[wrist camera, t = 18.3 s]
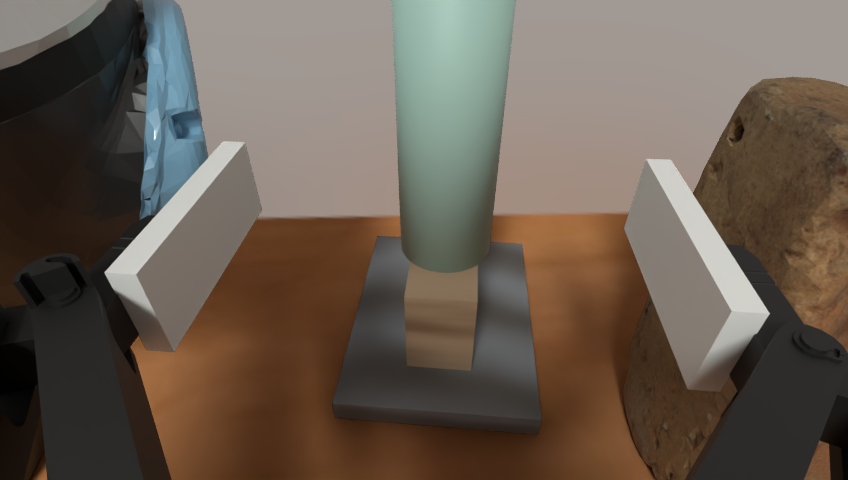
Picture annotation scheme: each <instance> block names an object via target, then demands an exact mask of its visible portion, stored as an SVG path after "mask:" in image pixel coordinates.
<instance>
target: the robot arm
mask: <svg viewBox="0 0 848 480" xmlns="http://www.w3.org/2000/svg"><path fill="white" fill-rule="evenodd" d="M261 210H262V208H261V204H260V200H259V196H258V192H257V188H256V184H255V180H254V176H253V172H252V168H251V164H250V160H249V156H248V152H247V148H246V144H245V142H225V141H223V142H222V143H221V144H220V145H219V146H218V148H217V149H216V150H215V151H214V152H213V153H212V154H211V156H210V157H209V158H208V152H207V147H206V141H205V136H204V131H203V128H202V117H201V112H200V106H199V101H198V91H197V85H196V79H195V73H194V67H193V62H192V56H191V51H190V46H189V40H188V35H187V30H186V25H185V21H184V16H183V13H182V10H181V8H180V6H179V5H178V4H177V3H176V2H175V1H174V0H0V480H29V479H30V477H31V475H32V473H33V472H34V470H35V468H36V466H37V463H38V461H39V459H40V457H41V454H42V452H43V449H45V459H46V470H47V480H171V477H170V473H169V470H168V466H167V463H166V460H165V456H164V453H163V450H162V446H161V443H160V439H159V436H158V433H157V429H156V426H155V422H154V419H153V416H152V412H151V409H150V405H149V402H148V399H147V395H146V392H145V388H144V385H143V382H142V378H141V375H140V371H139V368H138V365H137V361H136V358H135V355H134V353H133V351H132V350H131V348H130V346H131V345H132V344H133V342H134V341H135V339H136V338H137V337H138V335H139V337H140V339H141V341H142V343H143V345H144V346H145V348H146V350H152V351H166V352H175V350H176V348H177V347H178V345H179V344H180V342H181V340H182V339H183V337H184V335H185V334H186V332H187V331H188V329H189V327H190V326H191V324H192V323H193V321H194V319H195V318H196V316H197V314H198V313H199V311H200V310H201V308H202V306H203V305H204V303H205V301H206V300H207V298H208V297H209V295H210V293H211V292H212V290H213V289H214V287H215V285H216V284H217V282H218V280H219V279H220V277H221V276H222V274H223V272H224V271H225V269H226V267H227V266H228V264H229V263H230V261H231V259H232V258H233V256H234V255H235V253H236V251H237V250H238V248H239V246H240V245H241V243H242V242H243V240H244V238H245V237H246V235H247V233H248V232H249V230H250V229H251V227H252V225H253V224H254V222H255V221H256V219H257V217H258V216H259V214H260V212H261ZM624 230H625V232H626V235H627V237H628V240H629V242H630V245H631V247H632V250H633V252H634V255H635V257H636V260H637V263H638V265H639V268H640V270H641V273H642V275H643V278H644V280H645V283H646V285H647V288H648V290H649V293H650V295H651V298H652V300H653V303H654V305H655V308H656V310H657V313H658V316H659V318H660V321H661V323H662V326H663V328H664V331H665V333H666V336H667V338H668V341H669V343H670V346H671V348H672V351H673V353H674V356H675V358H676V361H677V364H678V366H679V369H680V371H681V374H682V376H683V379H684V381H685V384H686V386H687V389H688V390H702V391H716V392H720V391H721V390H722V388H723V387H724V385H725V383H726V382H727V380H728V379H729V377H731V379H732V381H733V383H734V385H735V387H736V390H737V392H736V393H735V395H734V396H733V398H732V399H731V401H730V402H729V404H728V405H727V407H726V408H725V410H724V411H723V413H722V414H721V416H720V417H721V418H720V420H719V422H718V423H717V425H716V427H715V429H714V430H713V432H712V434H711V435H710V437H709V439H708V441H707V442H706V444H705V446H704V447H703V449H702V451H701V453H700V454H699V456H698V458H697V459H696V461H695V463H694V465H693V466H692V468H691V470H690V471H689V473H688V475H687V477H686V478H685V480H804V478H805V476H806V473H807V471H808V468H809V466H810V463H811V461H812V458H813V455H814V453H815V450H816V448H817V445H818V443H819V441H822V442H825V443H828V444H829V456H830V478H831V480H848V353H847V351H846V349H845V348H844V346H843V345H842V344H841V343H840V342H838V341H837V340H836V339H835V338H834V337H833V336H831V335H829V334H827V333H826V332H824V331H822V330H821V329H818V328H815V327H812V326H810V325H806V324H804V323H803V322H802V320H801V319H800V317H799V316H798V315H797V313H796V312H795V310H794V309H793V307H792V306H791V305H790V303H789V302H788V300H787V299H786V297H785V296H784V295H783V293H782V292H781V290H780V289H779V287H778V286H775V282H774V280H773V279H772V277H771V276H770V275H768V274H767V270H766V269H765V268H764V266H763V265H762V263H761V262H760V260H759V259H758V258H757V257H756V256H755V255H753V254H752V253H751V252H749V251H748V250H747V249H745V248H744V247H743V246H742V245H728V244H725V243H724V242H723V240H722V239H721V237H720V235H719V234H718V232H717V231H716V229H715V228H714V226H713V225H712V223H711V221H710V220H709V218H708V217H707V215H706V214H705V212H704V211H703V209H702V207H701V206H700V204H699V203H698V201H697V200H696V198H695V197H694V195H693V193H692V192H691V190H690V189H689V187H688V186H687V184H686V183H685V181H684V179H683V178H682V176H681V175H680V173H679V172H678V170H677V169H676V167H675V165H674V164H673V162H672V161H671V160H660V159H646V161H645V164H644V167H643V170H642V173H641V176H640V180H639V183H638V186H637V189H636V192H635V196H634V199H633V202H632V205H631V208H630V211H629V214H628V217H627V221H626V224H625V227H624Z"/></svg>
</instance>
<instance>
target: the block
mask: <svg viewBox="0 0 848 480" xmlns="http://www.w3.org/2000/svg"><path fill="white" fill-rule="evenodd" d="M693 195H694V197H695V198H696V200H697V201H698V203H699V204H700V206H701V207H702V209H703V211H704V212H705V214H706V215H707V217H708V218H709V220H710V221H711V223H712V225H713V226H714V228H715V229H716V231H717V232H718V234H719V235H720V237H721V239H722V240H723V242H724V243H725V244H728V245H742V246H743V247H744V248H745V249H747V250H748V251H749V252H751V253H752V254H753V255H755V256H756V257H757V258H758V259H759V260H760V262H761V263H762V265H763V266H764V268H765V269H766V270H767V274H768V275H770V276H771V277H772V279H773V280H774V282H775V286H778V287H779V289H780V290H781V292H782V293H783V295H784V296H785V297H786V299H787V300H788V302H789V303H790V305H791V306H792V307H793V309H794V310H795V312H796V313H797V315H798V316H799V317H800V319H801V320H802V322H803V323H804V324H806V325H810V326H812V327H815V328H818V329H821V330H822V331H824V332H826V333H827V334H829V335H831V336H833V337H834V338H835V339H836V340H837V341H838V342H840V343H841V344H842V345H843V346H844V348H845V349H846V351H847V353H848V87H847V86H844V85H841V84H838V83H835V82H830V81H825V80H820V79H815V78H801V77H789V78H775V79H763V80H762V81H760V82H759V83H757V84H756V85H754V86H753V87H751V88H750V90H749V91H748V92H747V94H746V95H745V96H744V97H743V99H742V100H741V102H740V104H739V105H738V107H737V108H736V110H735V112H734V113H733V115H732V117H731V119H730V122H729V123H728V125H727V127H726V128H725V130H724V131H723V133H722V135H721V137H720V139H719V141H718V143H717V145H716V147H715V149H714V151H713V153H712V155H711V157H710V159H709V160H708V162H707V164H706V166H705V168H704V170H703V172H702V175H701V178H700V180H699V182H698V184H697V186H696V188H695V190H694V192H693ZM736 392H737V390H736V387H735V385H734V383H733V381H732V379H731V377H729V379H728V380H727V382H726V383H725V385H724V387H723V388H722V390H721V391H720V392H716V391H702V390H688V389H687V386H686V384H685V381H684V379H683V376H682V374H681V371H680V369H679V366H678V364H677V361H676V358H675V356H674V353H673V351H672V348H671V346H670V343H669V341H668V338H667V336H666V333H665V331H664V328H663V326H662V323H661V321H660V318H659V316H658V313H657V310H656V308H655V305H654V303H653V300H652V298H651V295H650V293H649V296H648V299H647V301H646V304H645V307H644V310H643V312H642V314H641V317H640V320H639V322H638V325H637V328H636V332H635V334H634V336H633V339H632V342H631V344H630V351H629V365H628V372H627V377H626V381H625V383H624V388H623V399H624V406H625V411H626V415H627V419H628V423H629V426H630V429H631V433H632V436H633V439H634V442H635V445H636V447H637V449H638V451H639V452H640V454H641V456H642V458H643V460H644V461H645V463H646V464H647V465H649V466H650V467H652V470H653V473H654V476H655V478H656V480H685V478H686V477H687V475H688V473H689V471H690V470H691V468H692V466H693V465H694V463H695V461H696V459H697V458H698V456H699V454H700V453H701V451H702V449H703V447H704V446H705V444H706V442H707V441H708V439H709V437H710V435H711V434H712V432H713V430H714V429H715V427H716V425H717V423H718V422H719V420H720V418H721V417H720V416H721V414H722V413H723V411H724V410H725V408H726V407H727V405H728V404H729V402H730V401H731V399H732V398H733V396H734V395H735V393H736ZM804 480H831V478H830V456H829V444H828V443H825V442H822V441H819V443H818V445H817V448H816V450H815V453H814V455H813V458H812V461H811V463H810V466H809V468H808V471H807V473H806V476H805V478H804Z"/></svg>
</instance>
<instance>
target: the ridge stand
mask: <svg viewBox="0 0 848 480" xmlns="http://www.w3.org/2000/svg"><path fill="white" fill-rule="evenodd" d="M332 405H333V410H334V415H335V418H343V419H355V420H367V421H380V422H392V423H404V424H416V425H429V426H441V427H453V428H466V429H478V430H490V431H502V432H515V433H527V434H538V432H539V428H540V424H541V421H542V418H541V409H540V400H539V391H538V383H537V374H536V365H535V356H534V347H533V338H532V329H531V320H530V311H529V302H528V294H527V285H526V276H525V267H524V258H523V249H522V244H517V243H498V242H490V248H489V252H488V254H487V256H486V258H485V259H484V260H483V261H482V262H481V263H479V264H478V265H476V266H475V267H473V268H470V269H468V270H464V271H460V272H453V273H440V272H433V271H429V270H426V269H423V268H421V267H418V266H417V265H415V264H413V263H412V262H411V261H409V260H408V259H407V258H406V256H405V255H404V253H403V251H402V248H401V237H387V236H377V239H376V243H375V247H374V250H373V254H372V258H371V262H370V265H369V269H368V273H367V276H366V280H365V284H364V287H363V291H362V295H361V299H360V302H359V306H358V310H357V313H356V317H355V321H354V324H353V328H352V332H351V335H350V339H349V343H348V347H347V350H346V354H345V358H344V361H343V365H342V369H341V372H340V376H339V380H338V384H337V387H336V391H335V395H334V398H333V402H332Z"/></svg>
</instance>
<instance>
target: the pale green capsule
mask: <svg viewBox="0 0 848 480" xmlns="http://www.w3.org/2000/svg"><path fill="white" fill-rule="evenodd" d="M515 2H516V0H392V14H393V15H392V16H393V42H394V67H395V94H396V121H397V145H398V146H397V147H398V173H399V199H400V226H401V248H402V251H403V253H404V255H405V256H406V258H407V259H408V260H409V261H411V262H412V263H413V264H415V265H417V266H418V267H421V268H423V269H426V270H429V271H433V272H440V273H453V272H460V271H464V270H468V269H470V268H473V267H475V266H476V265H478V264H479V263H481V262H482V261H483V260H484V259H485V258H486V256H487V254H488V252H489V248H490V238H491V229H492V220H493V210H494V201H495V191H496V182H497V173H498V163H499V154H500V143H501V135H502V125H503V116H504V106H505V97H506V87H507V78H508V69H509V59H510V49H511V41H512V31H513V22H514V11H515Z"/></svg>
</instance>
